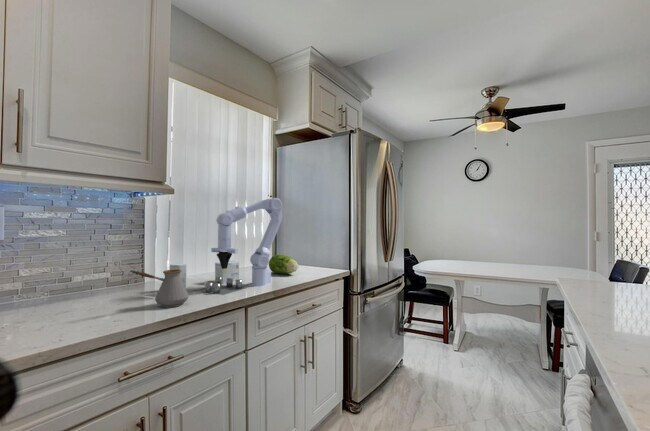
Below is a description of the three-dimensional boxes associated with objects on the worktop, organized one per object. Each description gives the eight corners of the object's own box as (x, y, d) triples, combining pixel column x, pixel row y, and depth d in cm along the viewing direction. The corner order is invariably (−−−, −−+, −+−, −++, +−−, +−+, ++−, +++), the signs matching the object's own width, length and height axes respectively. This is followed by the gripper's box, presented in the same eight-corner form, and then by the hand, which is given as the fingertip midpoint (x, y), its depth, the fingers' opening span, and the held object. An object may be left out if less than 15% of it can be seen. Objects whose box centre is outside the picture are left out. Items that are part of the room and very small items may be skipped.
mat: (217, 285, 154) (217, 284, 154) (246, 289, 146) (246, 288, 146) (192, 292, 140) (192, 290, 140) (222, 296, 132) (222, 294, 132)
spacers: (218, 284, 153) (218, 276, 153) (244, 287, 146) (244, 279, 146) (193, 290, 140) (193, 281, 140) (221, 294, 133) (221, 285, 133)
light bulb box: (231, 280, 168) (231, 260, 169) (239, 281, 165) (239, 261, 165) (214, 283, 160) (214, 262, 160) (222, 285, 156) (222, 263, 156)
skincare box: (169, 290, 143) (169, 264, 143) (176, 288, 147) (176, 263, 147) (179, 291, 141) (179, 265, 141) (186, 289, 145) (186, 264, 145)
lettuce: (289, 277, 177) (289, 257, 177) (265, 273, 190) (265, 255, 191) (303, 274, 186) (303, 255, 186) (279, 271, 199) (280, 253, 200)
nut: (210, 286, 149) (210, 280, 149) (218, 287, 148) (218, 280, 148) (202, 288, 144) (202, 282, 144) (211, 289, 143) (211, 282, 143)
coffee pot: (177, 299, 127) (177, 262, 127) (194, 303, 121) (195, 264, 121) (119, 312, 109) (120, 269, 109) (137, 318, 103) (138, 272, 103)
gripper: (206, 239, 145) (206, 268, 144) (230, 239, 138) (230, 270, 138) (217, 238, 151) (217, 266, 151) (241, 239, 145) (241, 268, 144)
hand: (224, 268), depth 145 cm, fingers closed
